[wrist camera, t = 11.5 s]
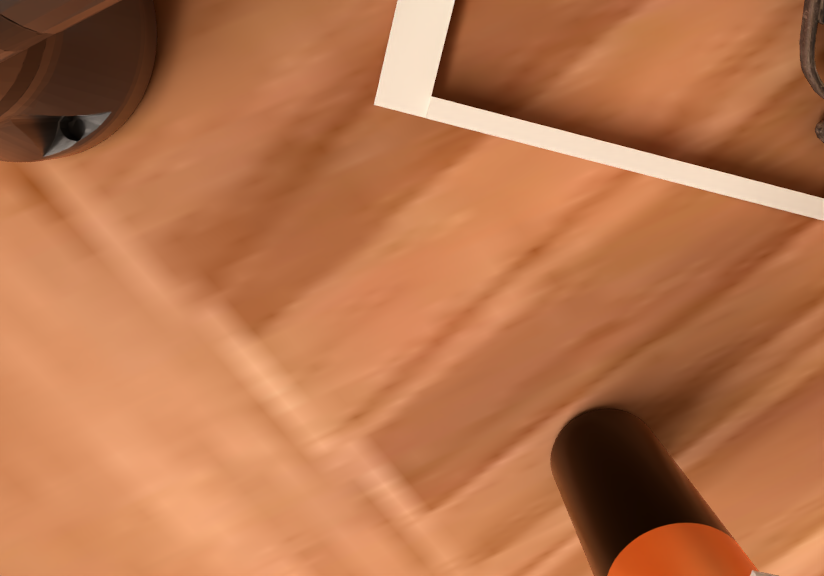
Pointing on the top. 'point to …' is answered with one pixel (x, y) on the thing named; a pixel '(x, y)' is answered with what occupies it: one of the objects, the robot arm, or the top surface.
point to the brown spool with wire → (812, 50)
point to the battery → (637, 503)
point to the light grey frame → (411, 93)
